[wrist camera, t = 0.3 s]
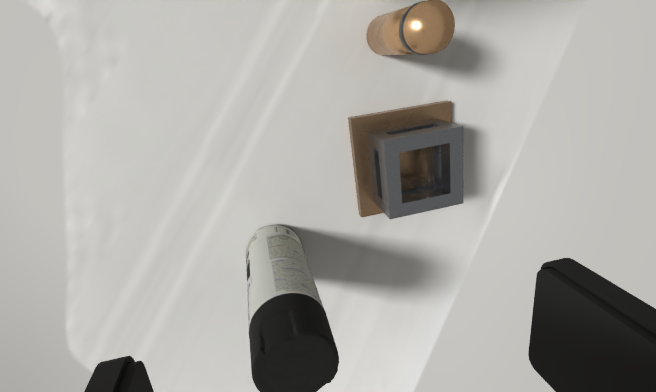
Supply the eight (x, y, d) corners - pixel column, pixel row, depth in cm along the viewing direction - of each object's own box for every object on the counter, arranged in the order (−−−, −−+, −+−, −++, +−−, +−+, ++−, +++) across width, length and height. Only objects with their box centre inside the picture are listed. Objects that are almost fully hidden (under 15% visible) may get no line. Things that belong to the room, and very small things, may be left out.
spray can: (235, 238, 45) (232, 363, 26) (287, 212, 45) (319, 317, 27) (262, 281, 47) (275, 420, 29) (310, 256, 48) (354, 379, 29)
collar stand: (348, 117, 43) (365, 126, 37) (446, 100, 45) (478, 106, 39) (359, 214, 47) (376, 236, 41) (448, 195, 49) (477, 213, 43)
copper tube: (364, 16, 40) (406, 2, 30) (401, 12, 40) (454, -5, 30) (368, 58, 41) (409, 57, 31) (403, 52, 42) (455, 50, 32)
